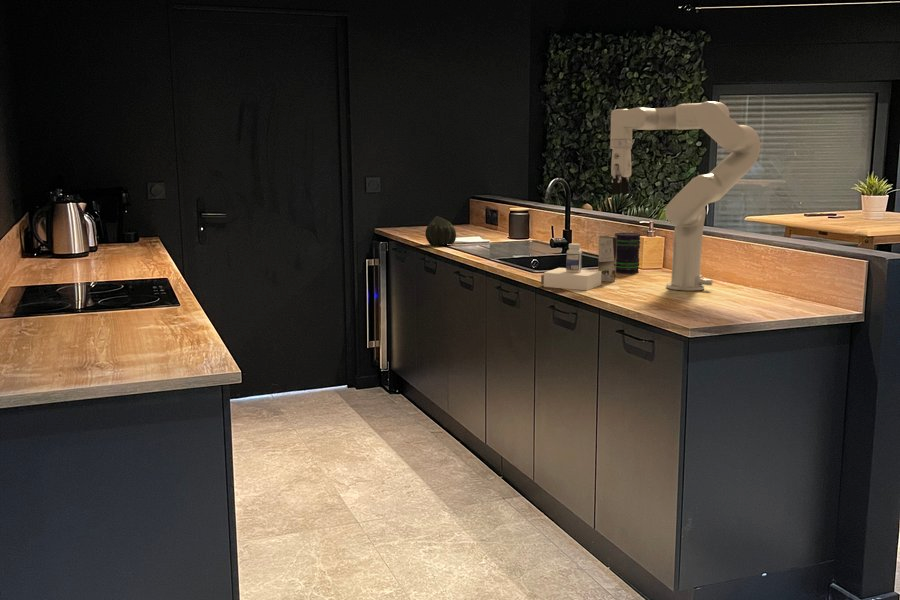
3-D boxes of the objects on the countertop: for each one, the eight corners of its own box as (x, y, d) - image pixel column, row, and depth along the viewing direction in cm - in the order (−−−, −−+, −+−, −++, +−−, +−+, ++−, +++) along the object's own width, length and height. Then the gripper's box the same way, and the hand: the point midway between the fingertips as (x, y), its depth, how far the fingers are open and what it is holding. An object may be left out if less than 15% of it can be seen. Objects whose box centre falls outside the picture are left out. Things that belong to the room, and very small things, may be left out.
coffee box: (615, 282, 313) (617, 237, 310) (597, 281, 314) (598, 237, 311) (615, 278, 322) (617, 235, 319) (598, 277, 323) (599, 234, 320)
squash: (458, 236, 417) (454, 211, 424) (427, 237, 415) (424, 212, 422) (455, 253, 429) (452, 228, 436) (426, 254, 427) (422, 230, 434)
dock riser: (600, 284, 307) (601, 270, 306) (587, 290, 294) (587, 275, 294) (556, 281, 315) (556, 267, 314) (541, 286, 303) (541, 272, 302)
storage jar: (644, 273, 335) (645, 234, 332) (622, 274, 331) (623, 235, 329) (629, 269, 344) (631, 232, 341) (608, 271, 340) (609, 233, 338)
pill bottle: (571, 270, 307) (572, 242, 305) (584, 271, 303) (585, 244, 302) (562, 271, 303) (563, 243, 302) (575, 273, 300) (576, 245, 298)
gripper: (624, 144, 296) (623, 194, 299) (638, 144, 311) (637, 192, 314) (603, 144, 300) (602, 194, 302) (617, 145, 315) (616, 192, 318)
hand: (620, 193), depth 308 cm, fingers open, 9 cm apart
